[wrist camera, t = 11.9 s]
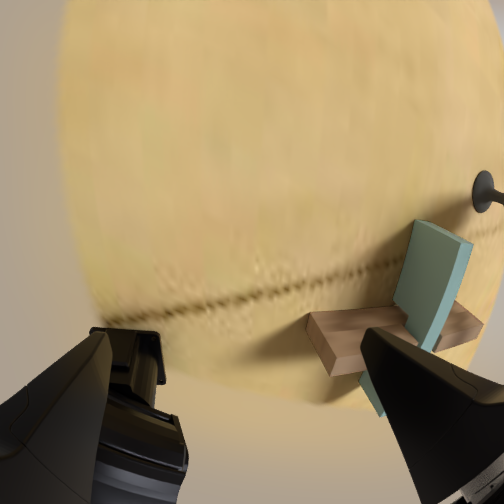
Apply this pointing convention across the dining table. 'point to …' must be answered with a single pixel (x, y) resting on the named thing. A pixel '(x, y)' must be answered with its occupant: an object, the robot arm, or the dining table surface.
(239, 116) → the dining table surface
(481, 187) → the sundae
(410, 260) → the teal slotted plate
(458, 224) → the dining table surface
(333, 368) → the walnut slotted plate
